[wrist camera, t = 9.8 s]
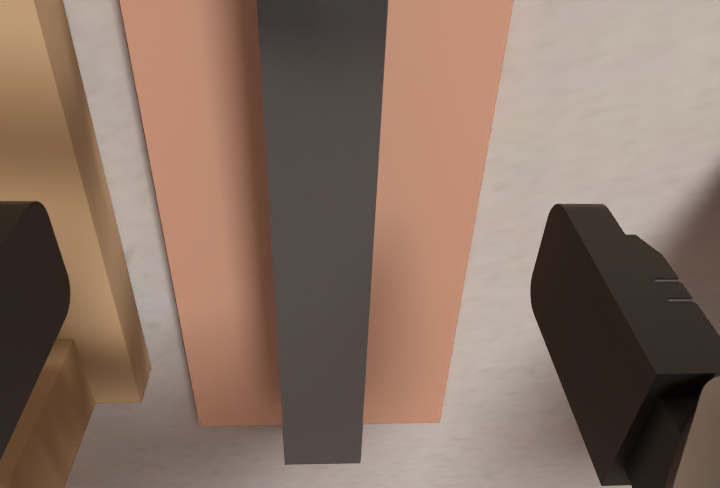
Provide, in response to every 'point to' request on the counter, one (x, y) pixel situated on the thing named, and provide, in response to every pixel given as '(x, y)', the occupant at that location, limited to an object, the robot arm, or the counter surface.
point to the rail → (322, 210)
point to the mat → (251, 200)
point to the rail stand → (64, 243)
